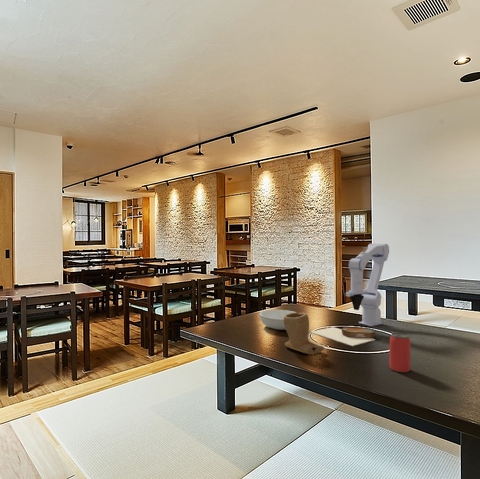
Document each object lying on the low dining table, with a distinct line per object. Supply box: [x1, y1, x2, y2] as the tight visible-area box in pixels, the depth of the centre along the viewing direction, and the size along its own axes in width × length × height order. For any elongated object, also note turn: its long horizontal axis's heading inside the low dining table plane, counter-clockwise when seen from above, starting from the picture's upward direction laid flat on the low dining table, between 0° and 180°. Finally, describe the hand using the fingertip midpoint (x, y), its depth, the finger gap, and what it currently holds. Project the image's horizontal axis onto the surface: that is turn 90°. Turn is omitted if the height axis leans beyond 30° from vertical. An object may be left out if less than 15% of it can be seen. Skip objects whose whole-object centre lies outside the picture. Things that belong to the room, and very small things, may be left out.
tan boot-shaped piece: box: [284, 311, 325, 355], centre depth 137 cm, size 15×12×15 cm
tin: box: [341, 326, 376, 339], centre depth 157 cm, size 15×3×8 cm
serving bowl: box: [259, 309, 295, 331], centre depth 171 cm, size 21×21×7 cm
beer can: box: [388, 332, 412, 373], centre depth 118 cm, size 7×7×12 cm
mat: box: [310, 326, 376, 347], centre depth 157 cm, size 16×24×1 cm, turn 34°
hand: (356, 309), depth 170 cm, fingers closed
